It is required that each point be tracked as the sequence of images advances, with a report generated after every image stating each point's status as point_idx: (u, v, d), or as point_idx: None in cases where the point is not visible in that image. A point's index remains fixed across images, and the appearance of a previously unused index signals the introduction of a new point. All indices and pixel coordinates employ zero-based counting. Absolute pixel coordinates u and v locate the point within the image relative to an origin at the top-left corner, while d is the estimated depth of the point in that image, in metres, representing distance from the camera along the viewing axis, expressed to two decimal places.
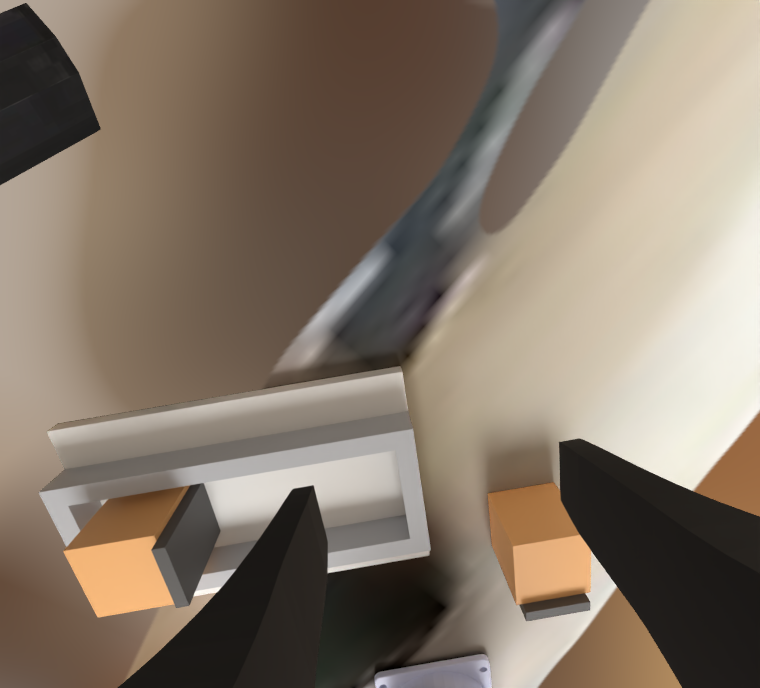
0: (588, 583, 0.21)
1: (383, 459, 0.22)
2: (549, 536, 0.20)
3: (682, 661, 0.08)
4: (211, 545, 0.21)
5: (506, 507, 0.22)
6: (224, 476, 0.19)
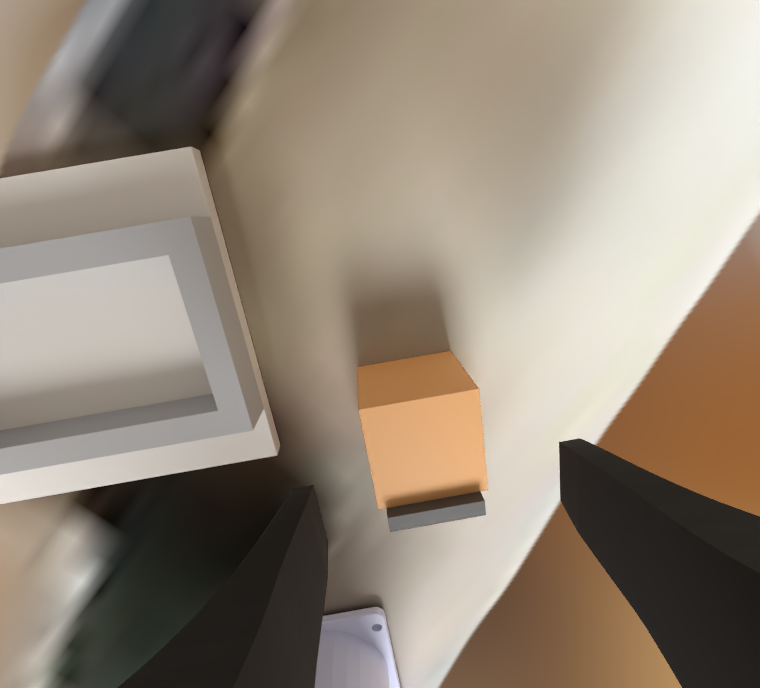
0: (483, 475, 0.14)
1: None
2: (416, 396, 0.13)
3: (682, 661, 0.08)
4: None
5: (374, 376, 0.16)
6: None
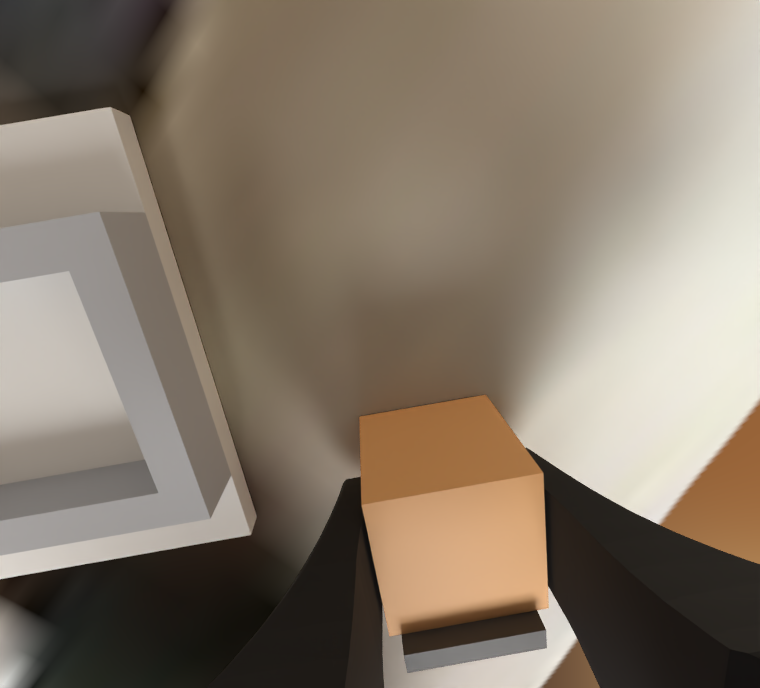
0: (543, 589, 0.10)
1: None
2: (448, 481, 0.09)
3: (605, 675, 0.08)
4: None
5: (382, 435, 0.11)
6: None
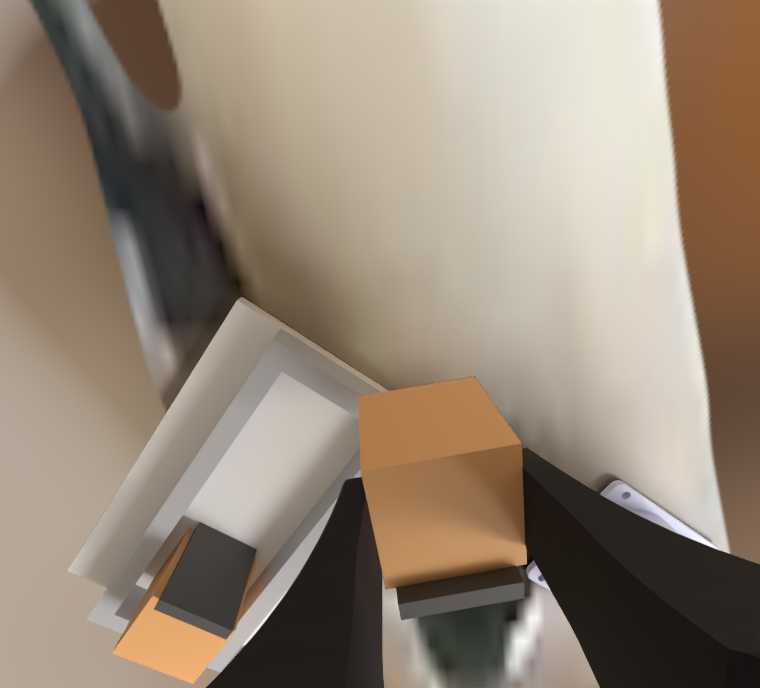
0: (522, 547, 0.11)
1: None
2: (438, 452, 0.10)
3: (605, 675, 0.08)
4: (246, 567, 0.20)
5: (379, 413, 0.12)
6: (184, 507, 0.19)
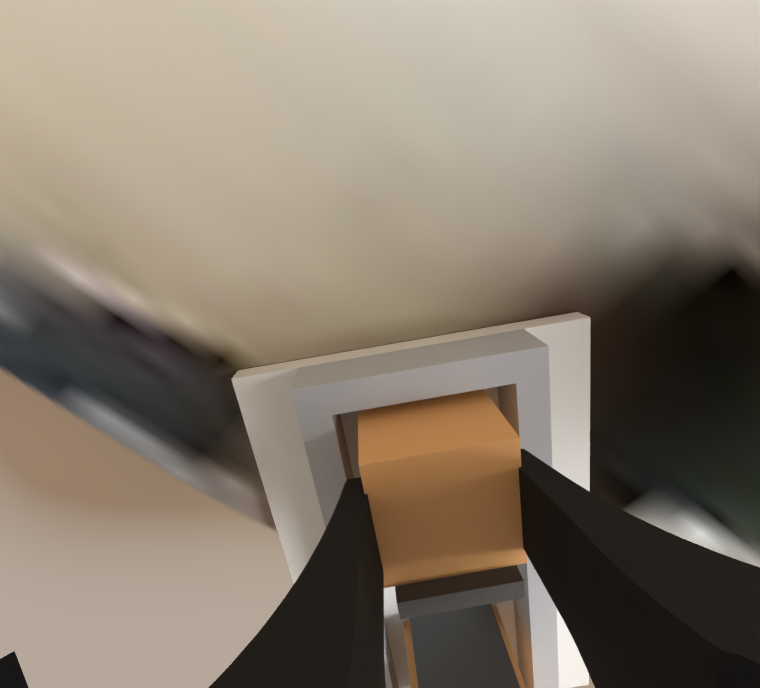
0: (522, 545, 0.11)
1: None
2: (436, 446, 0.10)
3: (600, 676, 0.08)
4: (492, 627, 0.15)
5: (378, 410, 0.12)
6: None
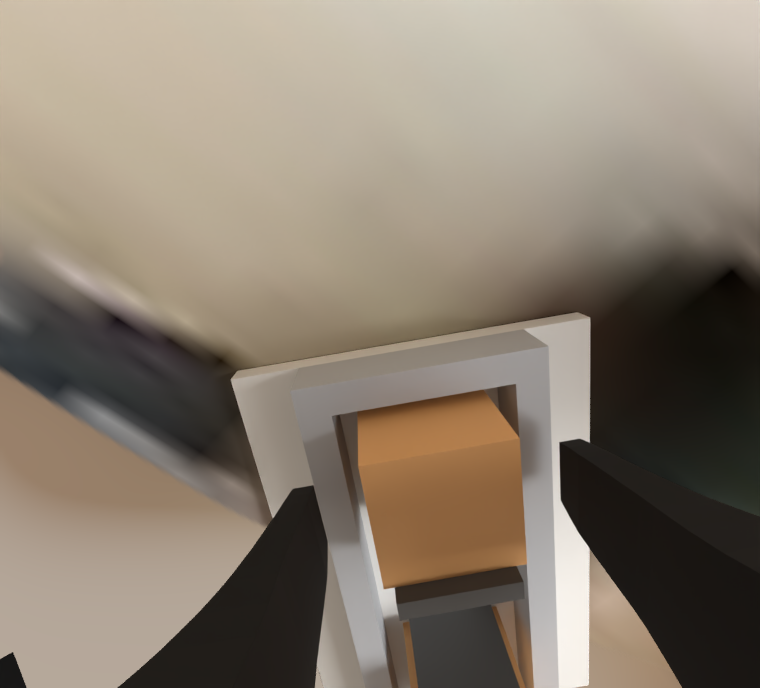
0: (521, 546, 0.11)
1: None
2: (435, 447, 0.10)
3: (682, 661, 0.08)
4: (491, 628, 0.15)
5: (378, 411, 0.12)
6: (373, 622, 0.14)
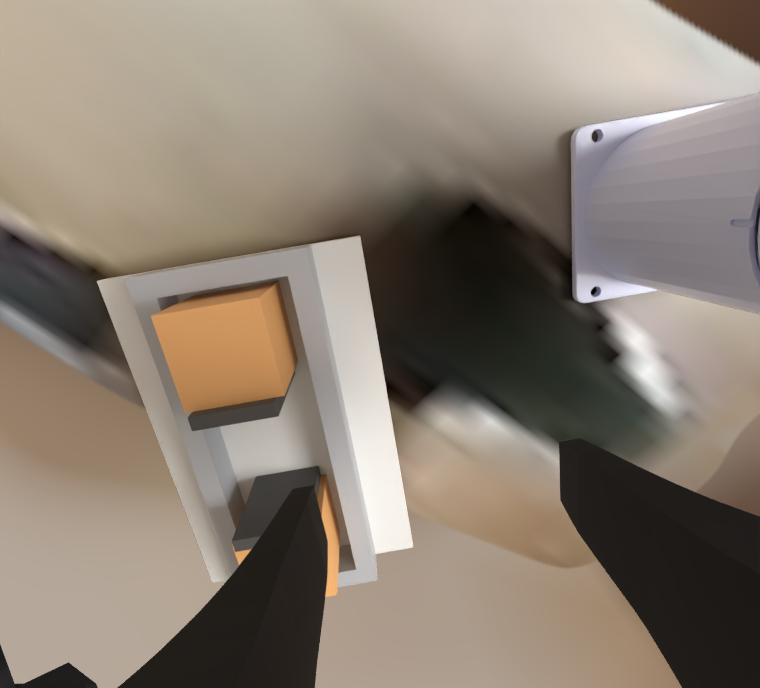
0: (278, 381, 0.16)
1: None
2: (206, 305, 0.15)
3: (682, 661, 0.08)
4: (310, 481, 0.20)
5: (195, 299, 0.17)
6: (211, 468, 0.19)
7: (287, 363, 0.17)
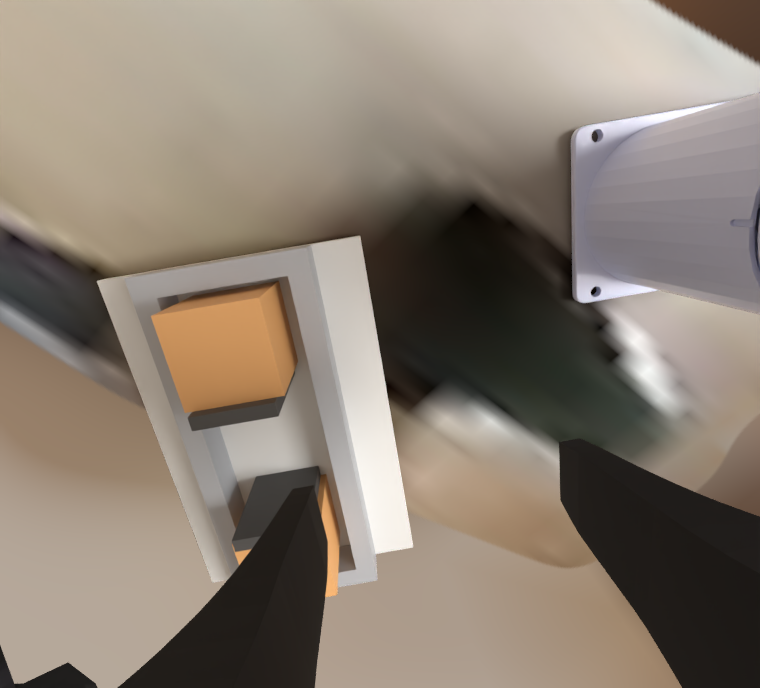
0: (278, 381, 0.16)
1: None
2: (206, 305, 0.15)
3: (682, 661, 0.08)
4: (310, 481, 0.20)
5: (195, 299, 0.17)
6: (211, 468, 0.19)
7: (287, 363, 0.17)
